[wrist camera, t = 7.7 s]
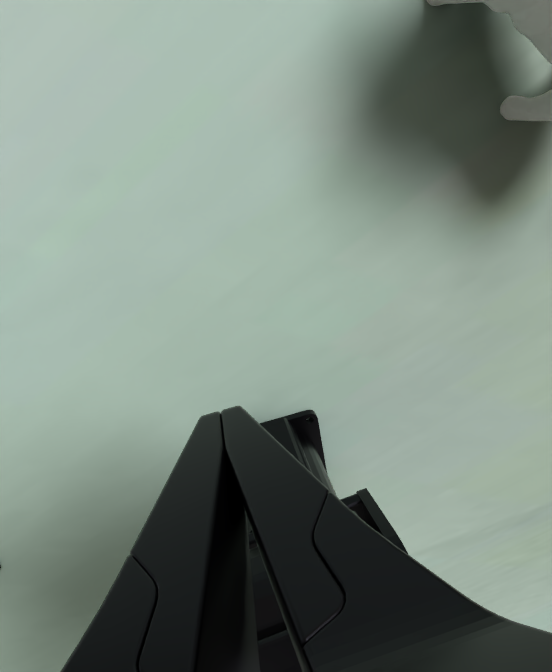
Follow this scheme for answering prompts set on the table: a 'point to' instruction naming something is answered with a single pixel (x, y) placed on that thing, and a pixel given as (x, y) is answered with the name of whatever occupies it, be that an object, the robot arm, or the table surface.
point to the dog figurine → (546, 35)
